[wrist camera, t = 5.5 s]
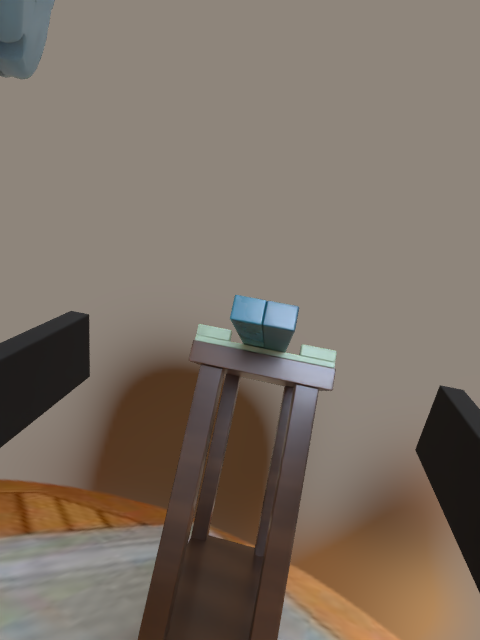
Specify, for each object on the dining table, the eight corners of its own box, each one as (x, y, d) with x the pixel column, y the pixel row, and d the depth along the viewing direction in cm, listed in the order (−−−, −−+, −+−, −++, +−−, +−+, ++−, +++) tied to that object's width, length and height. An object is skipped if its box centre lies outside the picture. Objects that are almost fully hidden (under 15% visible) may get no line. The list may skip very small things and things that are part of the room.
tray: (334, 368, 23) (337, 350, 24) (194, 340, 25) (198, 323, 25) (306, 377, 41) (307, 367, 41) (225, 360, 42) (227, 351, 42)
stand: (246, 928, 18) (336, 368, 23) (70, 857, 19) (193, 339, 24) (257, 662, 36) (306, 377, 41) (165, 633, 37) (224, 360, 42)
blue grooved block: (294, 332, 15) (299, 306, 16) (229, 319, 16) (235, 294, 16) (278, 367, 39) (280, 356, 39) (252, 361, 39) (254, 351, 39)
